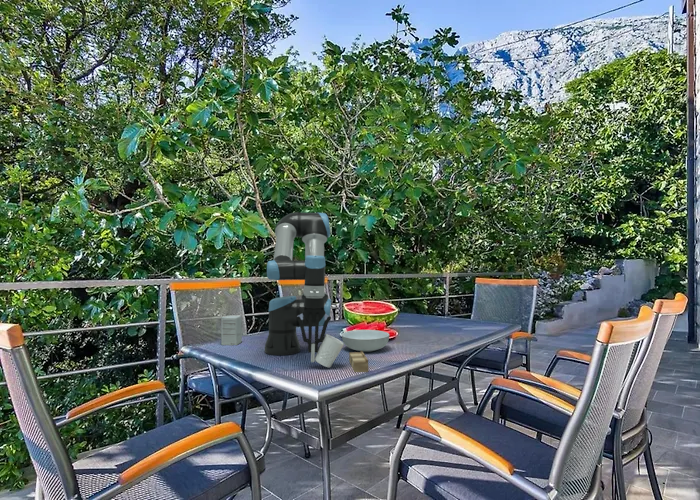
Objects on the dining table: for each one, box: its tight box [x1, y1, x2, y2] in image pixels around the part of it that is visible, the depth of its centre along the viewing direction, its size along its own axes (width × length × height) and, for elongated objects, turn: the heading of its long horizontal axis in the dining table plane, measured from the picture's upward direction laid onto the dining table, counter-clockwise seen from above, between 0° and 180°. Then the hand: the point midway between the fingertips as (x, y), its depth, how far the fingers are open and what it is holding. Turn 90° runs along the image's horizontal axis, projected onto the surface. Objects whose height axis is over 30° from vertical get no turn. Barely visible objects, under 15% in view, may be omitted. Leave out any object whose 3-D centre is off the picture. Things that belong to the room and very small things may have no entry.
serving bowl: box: [341, 329, 390, 353], centre depth 188 cm, size 21×21×7 cm
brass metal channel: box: [348, 351, 369, 373], centre depth 160 cm, size 15×5×4 cm, turn 7°
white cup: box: [314, 333, 345, 369], centre depth 159 cm, size 8×8×10 cm
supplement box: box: [220, 315, 243, 346], centre depth 199 cm, size 7×7×13 cm
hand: (312, 361), depth 158 cm, fingers closed
